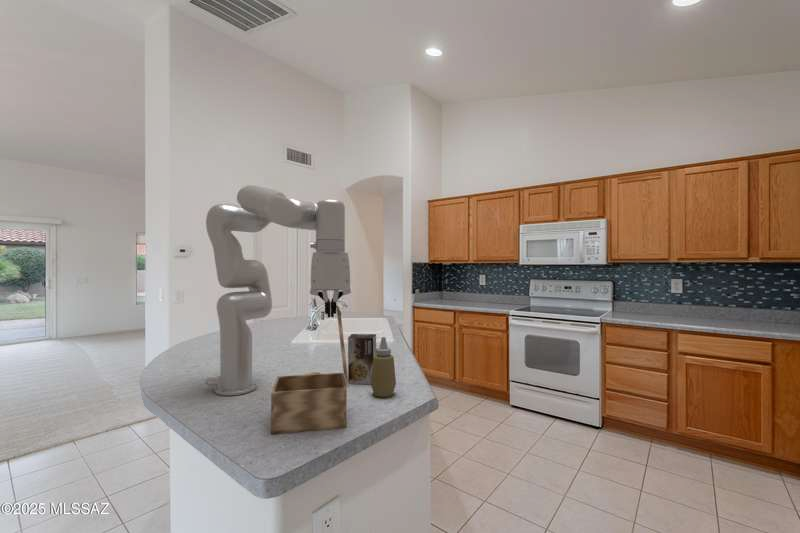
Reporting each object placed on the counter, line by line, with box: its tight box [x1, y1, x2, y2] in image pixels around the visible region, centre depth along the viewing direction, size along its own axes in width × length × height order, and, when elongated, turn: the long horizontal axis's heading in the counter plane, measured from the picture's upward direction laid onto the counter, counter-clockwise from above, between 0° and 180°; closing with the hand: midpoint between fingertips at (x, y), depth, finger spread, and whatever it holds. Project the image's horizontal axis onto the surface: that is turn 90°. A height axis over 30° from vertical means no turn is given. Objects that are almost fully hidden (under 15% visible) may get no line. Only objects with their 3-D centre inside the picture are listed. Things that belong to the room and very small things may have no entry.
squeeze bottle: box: [370, 336, 397, 398], centre depth 115 cm, size 8×8×18 cm
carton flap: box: [336, 306, 350, 388], centre depth 98 cm, size 19×13×1 cm
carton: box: [270, 372, 348, 435], centre depth 97 cm, size 18×13×10 cm
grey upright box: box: [347, 333, 377, 385], centre depth 128 cm, size 9×6×16 cm
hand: (330, 316), depth 97 cm, fingers closed
